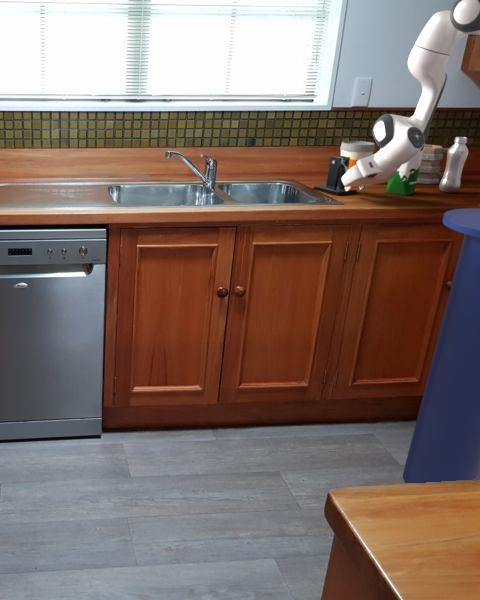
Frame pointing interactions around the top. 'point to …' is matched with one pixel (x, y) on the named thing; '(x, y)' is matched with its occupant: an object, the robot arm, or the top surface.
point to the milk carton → (406, 176)
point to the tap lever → (343, 165)
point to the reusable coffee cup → (356, 151)
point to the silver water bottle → (454, 166)
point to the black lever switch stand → (335, 178)
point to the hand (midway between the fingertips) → (353, 188)
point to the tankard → (431, 164)
